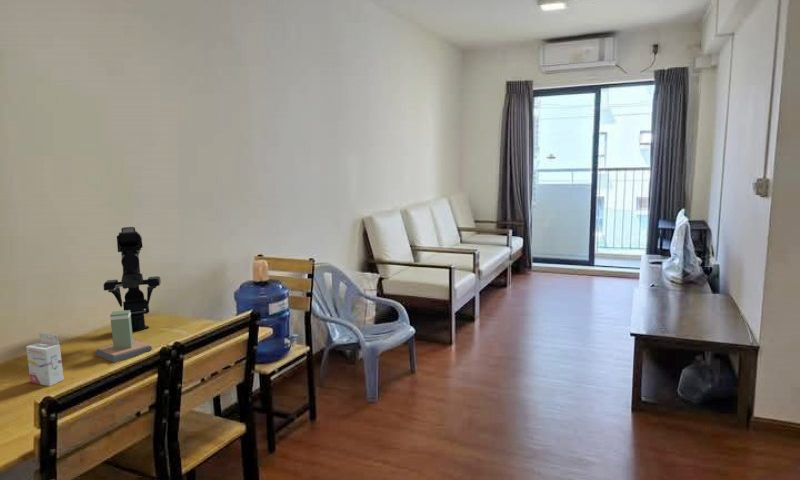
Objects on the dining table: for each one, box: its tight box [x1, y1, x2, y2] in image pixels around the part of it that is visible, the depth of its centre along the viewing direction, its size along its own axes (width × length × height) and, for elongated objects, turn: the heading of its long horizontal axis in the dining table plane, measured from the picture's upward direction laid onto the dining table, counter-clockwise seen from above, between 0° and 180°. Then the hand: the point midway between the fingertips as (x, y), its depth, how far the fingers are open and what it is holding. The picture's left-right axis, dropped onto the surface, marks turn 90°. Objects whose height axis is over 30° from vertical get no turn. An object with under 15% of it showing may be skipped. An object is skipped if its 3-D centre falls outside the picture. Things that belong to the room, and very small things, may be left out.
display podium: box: [95, 338, 153, 364], centre depth 185 cm, size 13×13×2 cm
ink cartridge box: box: [25, 332, 65, 387], centre depth 160 cm, size 9×5×15 cm, turn 71°
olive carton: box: [109, 310, 134, 350], centre depth 184 cm, size 6×5×12 cm
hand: (134, 305), depth 199 cm, fingers open, 9 cm apart
